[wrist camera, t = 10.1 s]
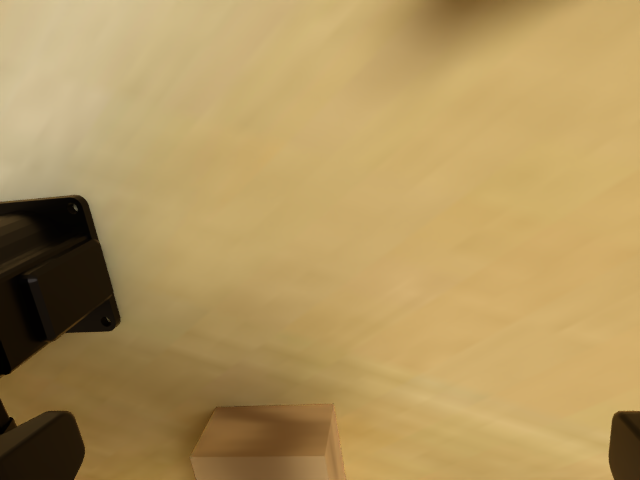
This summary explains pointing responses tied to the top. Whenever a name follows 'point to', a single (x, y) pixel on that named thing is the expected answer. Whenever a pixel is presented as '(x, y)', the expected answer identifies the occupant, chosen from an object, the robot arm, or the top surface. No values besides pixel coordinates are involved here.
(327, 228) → the top surface
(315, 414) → the short block
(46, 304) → the robot arm
